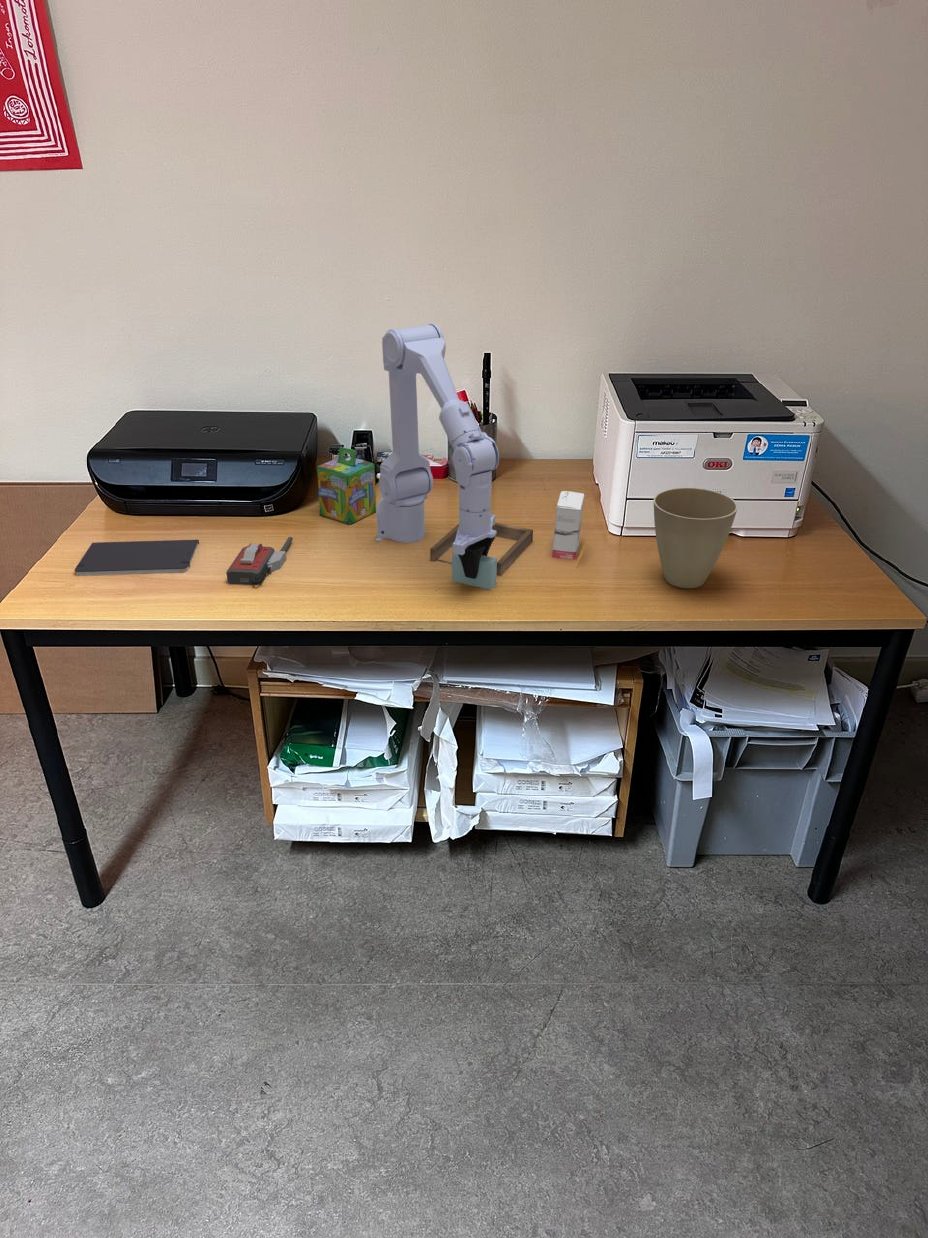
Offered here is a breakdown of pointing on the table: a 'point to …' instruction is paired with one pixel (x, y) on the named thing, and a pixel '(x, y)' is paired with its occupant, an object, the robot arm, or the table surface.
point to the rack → (502, 530)
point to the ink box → (568, 525)
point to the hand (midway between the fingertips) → (474, 573)
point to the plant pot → (691, 532)
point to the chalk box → (346, 487)
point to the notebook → (137, 557)
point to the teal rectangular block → (485, 572)
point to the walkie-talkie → (256, 563)
